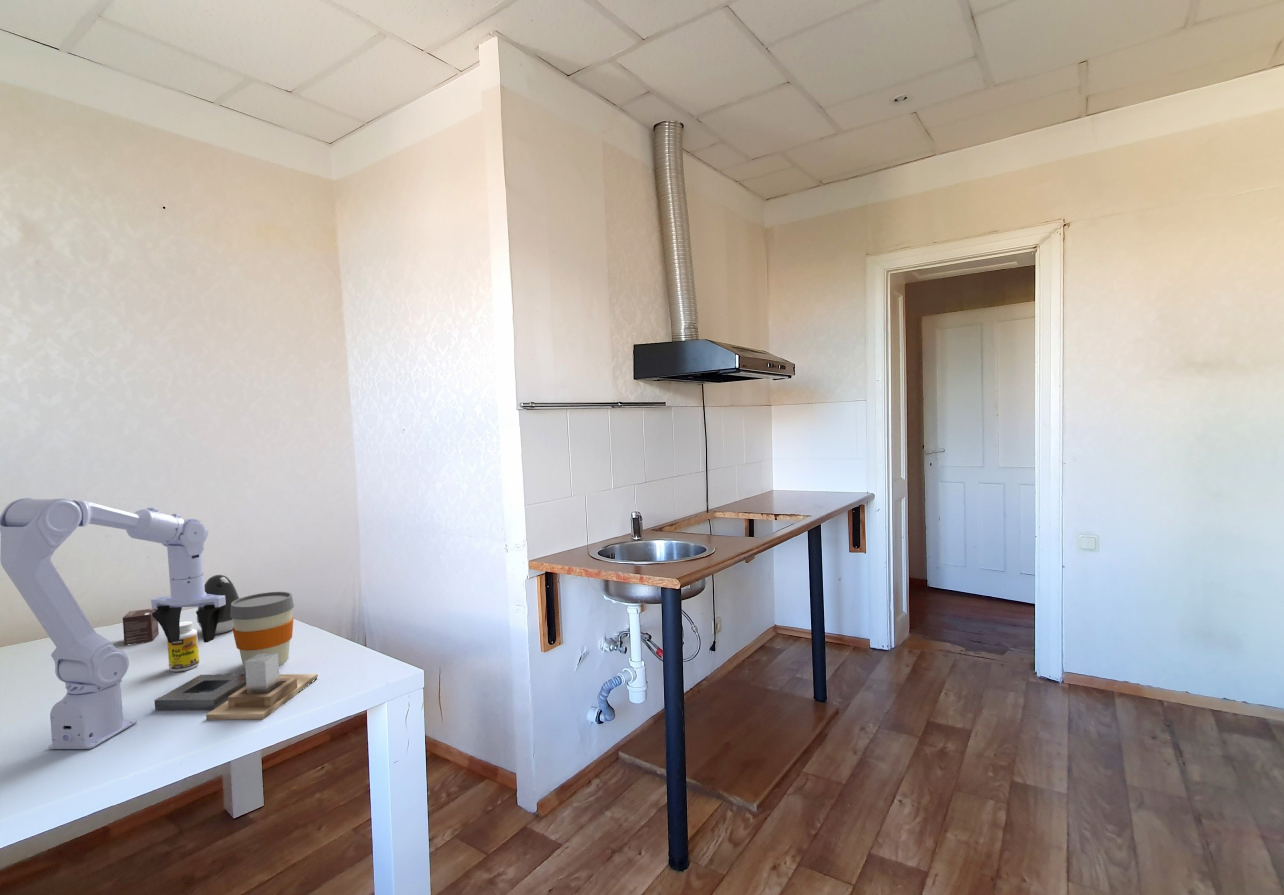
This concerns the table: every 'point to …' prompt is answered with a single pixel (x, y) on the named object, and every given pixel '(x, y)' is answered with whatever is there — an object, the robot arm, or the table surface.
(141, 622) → the box
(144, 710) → the table surface
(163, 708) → the socket
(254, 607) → the reusable coffee cup
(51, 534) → the robot arm
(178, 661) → the supplement bottle
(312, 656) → the table surface
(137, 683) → the table surface
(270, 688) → the brushed metal block
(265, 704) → the rack board
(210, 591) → the dark grey tall dome
